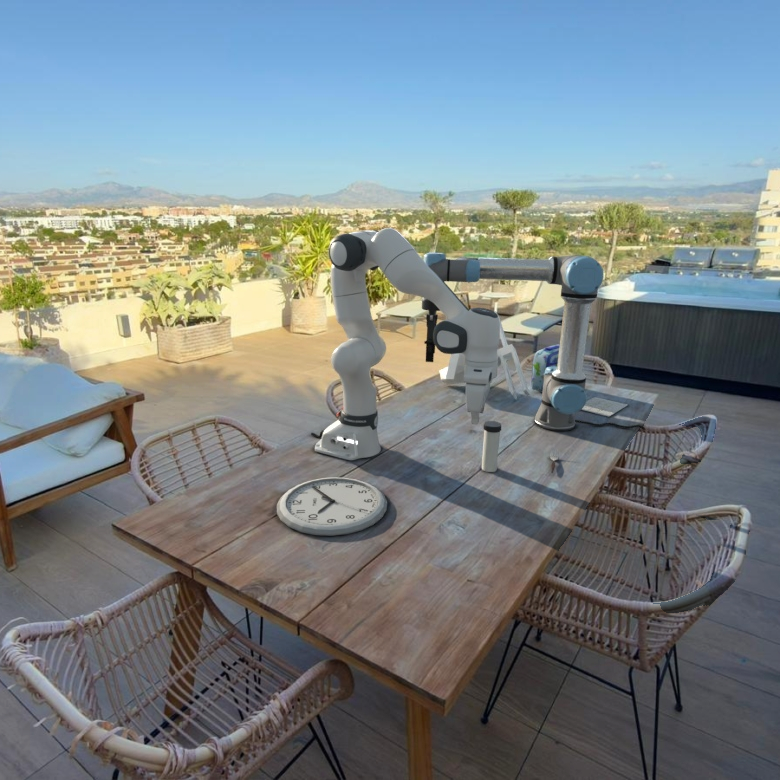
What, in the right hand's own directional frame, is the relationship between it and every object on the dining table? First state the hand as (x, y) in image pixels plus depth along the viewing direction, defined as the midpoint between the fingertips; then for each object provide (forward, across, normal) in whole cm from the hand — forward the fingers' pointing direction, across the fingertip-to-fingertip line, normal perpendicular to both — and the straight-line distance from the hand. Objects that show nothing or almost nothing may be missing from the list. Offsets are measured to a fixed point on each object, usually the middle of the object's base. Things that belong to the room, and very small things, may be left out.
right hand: (430, 357), depth 190 cm
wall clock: (+28, +61, -23) cm, 71 cm away
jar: (+28, +31, +21) cm, 47 cm away
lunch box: (+28, -61, +56) cm, 88 cm away
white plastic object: (+28, -50, +22) cm, 61 cm away
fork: (+28, +25, +42) cm, 56 cm away
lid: (+13, +31, +21) cm, 40 cm away
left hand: (+5, +47, +16) cm, 50 cm away
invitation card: (+28, -38, +73) cm, 87 cm away
